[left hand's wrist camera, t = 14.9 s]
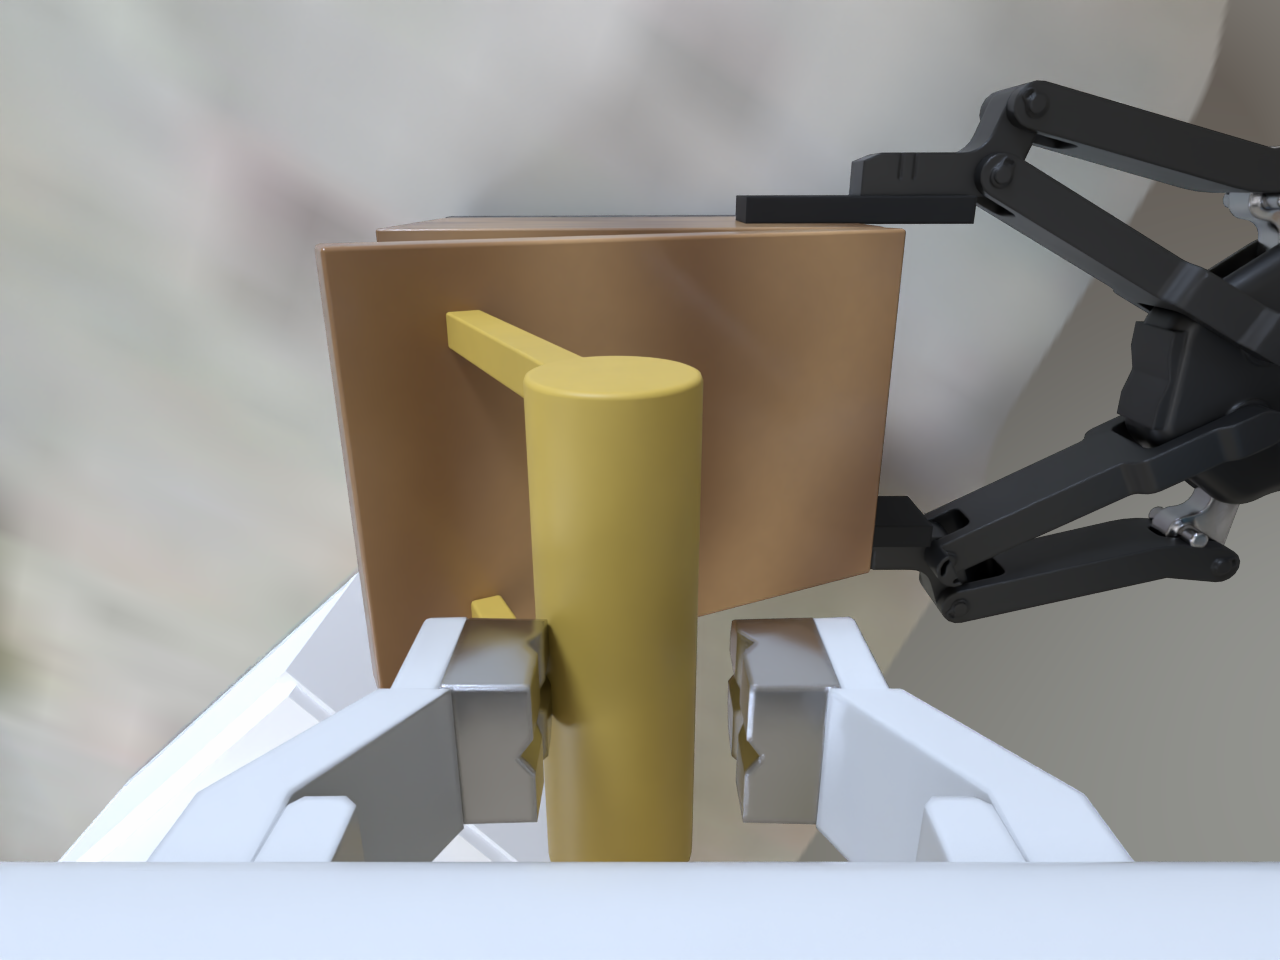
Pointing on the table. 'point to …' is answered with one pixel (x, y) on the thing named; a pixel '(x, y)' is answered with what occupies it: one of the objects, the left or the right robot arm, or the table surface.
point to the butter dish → (275, 743)
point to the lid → (609, 467)
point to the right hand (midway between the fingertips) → (734, 375)
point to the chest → (578, 226)
